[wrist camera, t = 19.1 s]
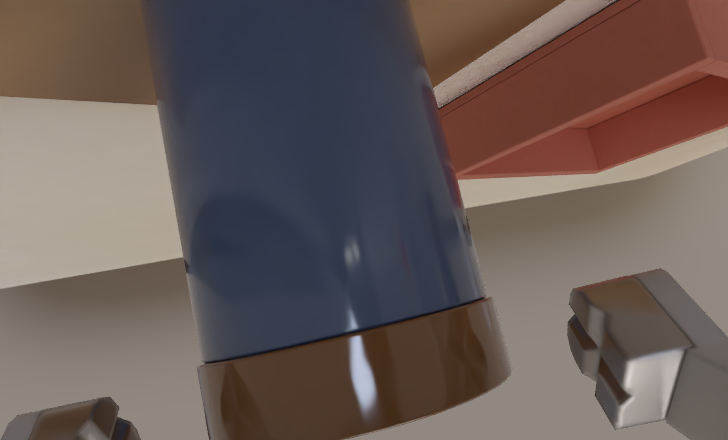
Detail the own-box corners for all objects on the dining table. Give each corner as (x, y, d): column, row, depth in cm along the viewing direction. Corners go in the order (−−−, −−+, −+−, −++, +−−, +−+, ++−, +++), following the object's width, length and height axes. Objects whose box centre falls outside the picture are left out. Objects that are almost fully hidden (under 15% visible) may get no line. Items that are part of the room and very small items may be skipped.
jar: (101, 23, 13) (167, 441, 11) (181, -194, 8) (314, 471, 7) (313, 53, 17) (384, 368, 15) (451, -83, 12) (575, 354, 10)
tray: (424, 117, 27) (440, 180, 27) (675, -35, 18) (708, 58, 17) (581, 127, 37) (595, 173, 36) (798, 32, 27) (822, 93, 27)
